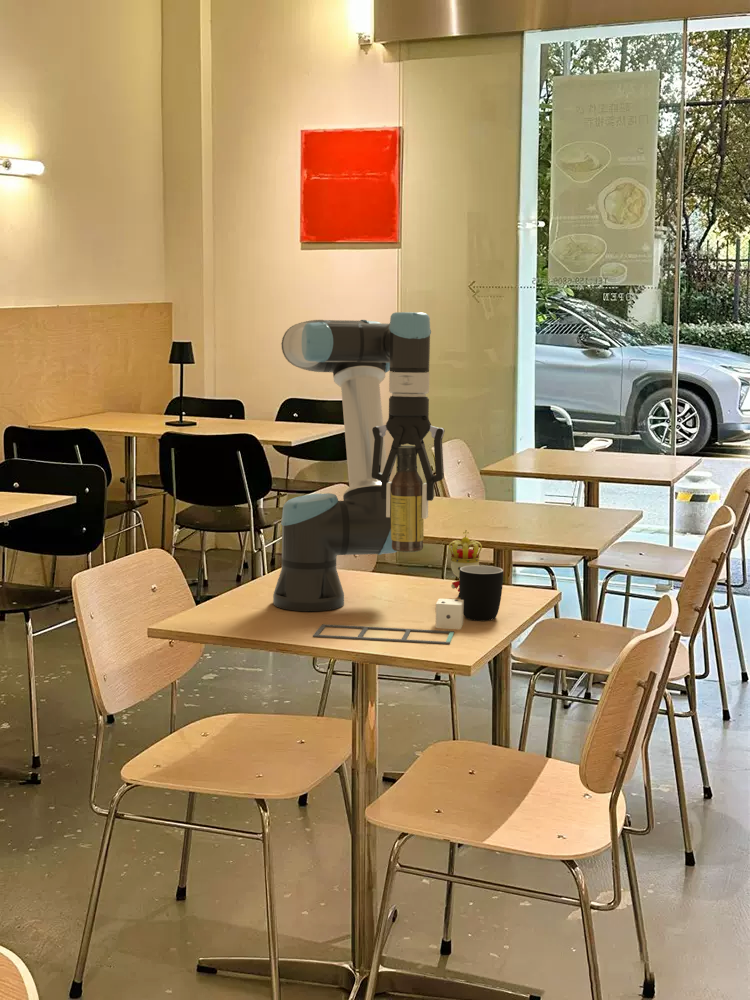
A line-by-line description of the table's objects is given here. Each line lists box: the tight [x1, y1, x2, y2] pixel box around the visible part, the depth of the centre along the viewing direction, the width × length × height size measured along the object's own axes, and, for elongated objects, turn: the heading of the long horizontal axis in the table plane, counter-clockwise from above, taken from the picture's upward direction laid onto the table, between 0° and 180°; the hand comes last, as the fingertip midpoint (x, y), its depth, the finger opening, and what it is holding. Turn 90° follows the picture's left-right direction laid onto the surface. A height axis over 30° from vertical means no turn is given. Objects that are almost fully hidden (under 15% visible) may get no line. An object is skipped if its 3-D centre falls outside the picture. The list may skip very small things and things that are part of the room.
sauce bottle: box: [391, 445, 425, 553], centre depth 240 cm, size 6×6×20 cm
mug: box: [458, 564, 504, 622], centre depth 261 cm, size 12×9×10 cm
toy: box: [448, 529, 483, 598], centre depth 279 cm, size 7×7×15 cm
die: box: [435, 598, 464, 630], centre depth 253 cm, size 5×5×5 cm
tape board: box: [312, 623, 455, 645], centre depth 245 cm, size 9×26×1 cm, turn 81°
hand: (407, 516), depth 240 cm, fingers closed on sauce bottle, 6 cm apart
